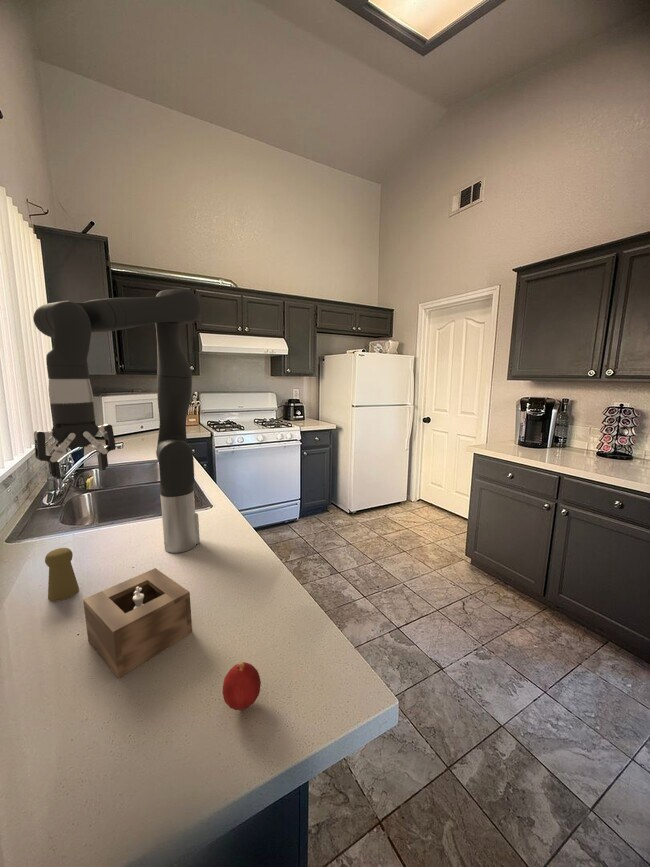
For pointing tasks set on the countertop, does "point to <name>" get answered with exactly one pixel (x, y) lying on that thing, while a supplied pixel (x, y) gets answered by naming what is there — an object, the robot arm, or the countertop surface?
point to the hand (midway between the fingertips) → (80, 474)
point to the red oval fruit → (241, 686)
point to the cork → (61, 575)
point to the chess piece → (138, 597)
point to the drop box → (137, 620)
